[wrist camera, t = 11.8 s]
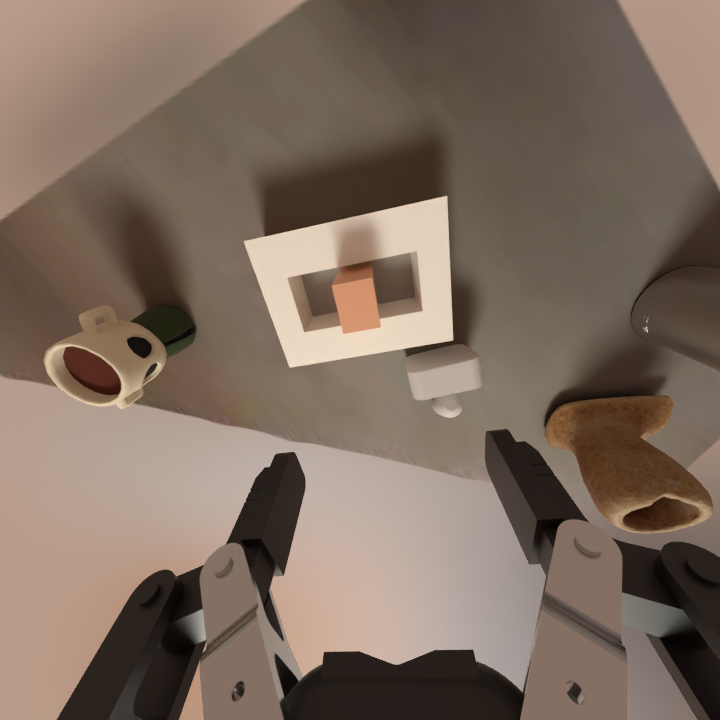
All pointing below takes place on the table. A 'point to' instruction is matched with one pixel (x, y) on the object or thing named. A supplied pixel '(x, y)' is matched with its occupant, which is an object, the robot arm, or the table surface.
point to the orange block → (356, 298)
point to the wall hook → (444, 376)
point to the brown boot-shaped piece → (629, 463)
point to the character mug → (116, 354)
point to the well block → (391, 275)
